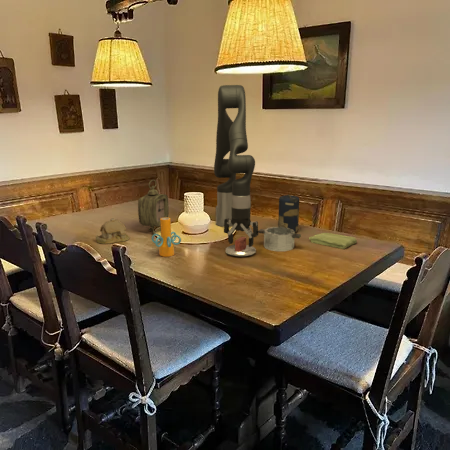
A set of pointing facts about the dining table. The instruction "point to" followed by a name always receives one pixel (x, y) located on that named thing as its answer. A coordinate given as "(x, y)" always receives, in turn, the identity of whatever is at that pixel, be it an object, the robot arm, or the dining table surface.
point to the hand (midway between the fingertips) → (240, 244)
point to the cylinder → (166, 238)
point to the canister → (289, 212)
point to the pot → (279, 238)
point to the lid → (240, 248)
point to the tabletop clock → (152, 208)
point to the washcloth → (333, 240)
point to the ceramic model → (112, 232)
